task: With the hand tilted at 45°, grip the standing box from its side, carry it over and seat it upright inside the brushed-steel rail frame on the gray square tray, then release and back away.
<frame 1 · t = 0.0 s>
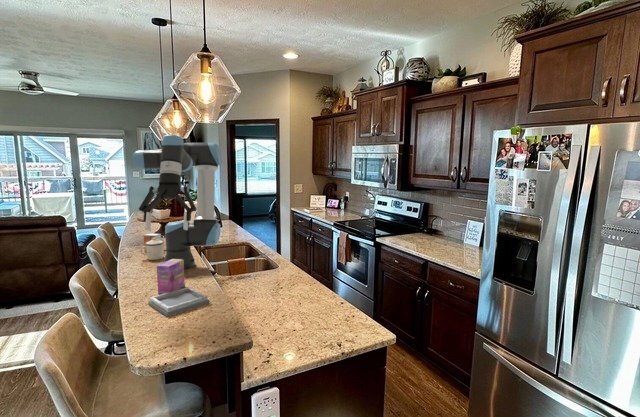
hand: (166, 230, 127), 28 cm above the countertop, tool tilted 20°, fingers open, 13 cm apart
box: (172, 290, 144), on the countertop
teacup with lid: (152, 258, 193), on the countertop
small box: (153, 251, 209), on the countertop
gray square tray: (179, 303, 128), on the countertop
steel rail frame: (178, 298, 128), on the gray square tray, point 1 cm above the countertop
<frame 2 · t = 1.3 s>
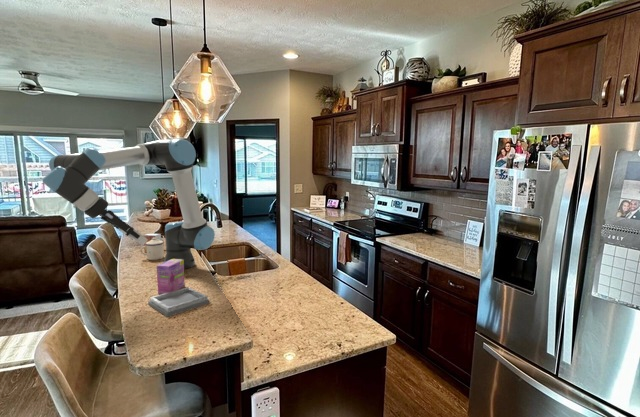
hand: (139, 239, 133), 23 cm above the countertop, tool tilted 45°, fingers open, 13 cm apart
nothing on the countertop moved.
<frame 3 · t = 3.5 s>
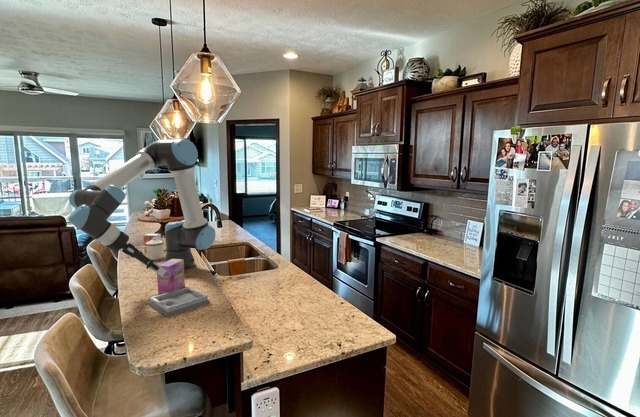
hand: (158, 269, 139), 10 cm above the countertop, tool tilted 45°, fingers open, 13 cm apart
nothing on the countertop moved.
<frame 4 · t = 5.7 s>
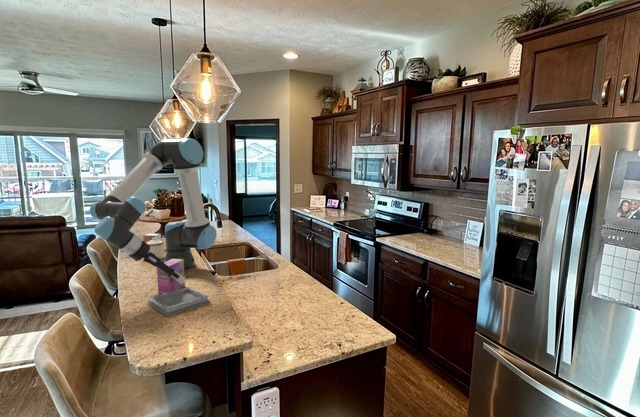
hand: (178, 278, 145), 4 cm above the countertop, tool tilted 45°, fingers closed on box, 10 cm apart
box: (172, 290, 144), on the countertop, touching gripper
everything else where it was.
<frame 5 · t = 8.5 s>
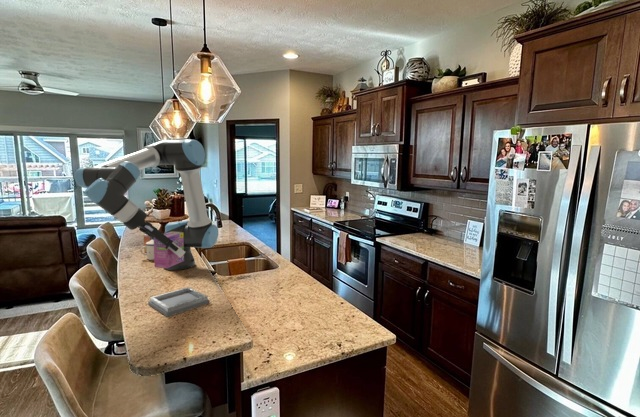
hand: (177, 252, 133), 18 cm above the countertop, tool tilted 45°, fingers closed on box, 10 cm apart
box: (170, 264, 131), point 14 cm above the countertop, touching gripper
everything else where it was.
when the fingers open (7 cm above the countertop, at t = 11.5 s): box drops 1 cm, resting on gray square tray.
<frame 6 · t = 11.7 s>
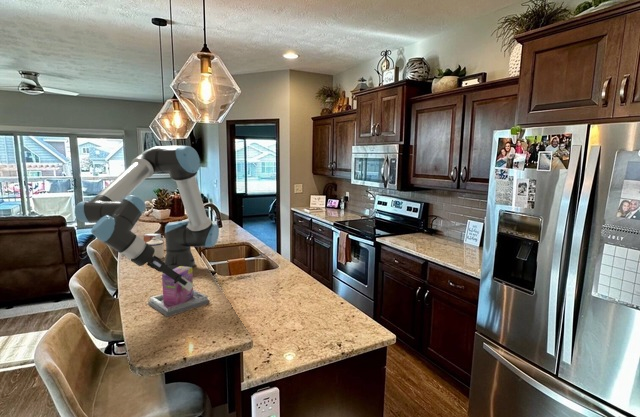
hand: (184, 283, 129), 7 cm above the countertop, tool tilted 45°, fingers open, 13 cm apart
box: (179, 301, 128), point 1 cm above the countertop, touching gray square tray
everything else where it was.
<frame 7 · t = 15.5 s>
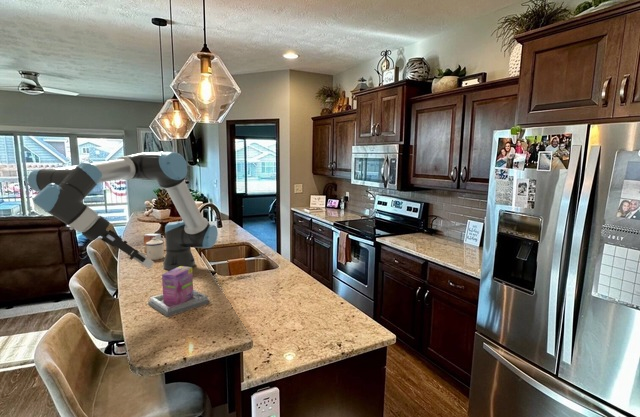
hand: (145, 261, 119), 18 cm above the countertop, tool tilted 45°, fingers open, 13 cm apart
nothing on the countertop moved.
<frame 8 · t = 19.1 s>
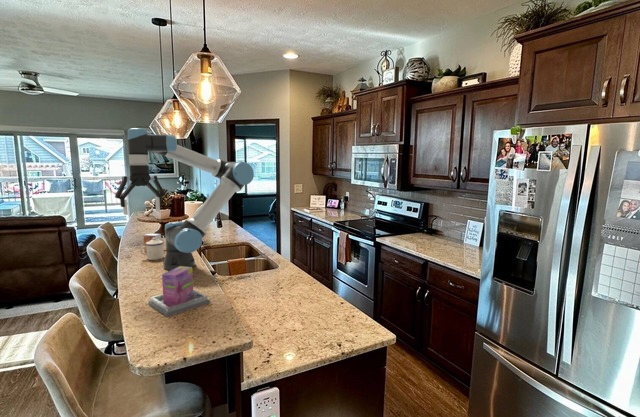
hand: (142, 212, 152), 31 cm above the countertop, tool pointing down, fingers open, 13 cm apart
nothing on the countertop moved.
at the end: box 0.3 cm off-centre on the gray square tray, point 1.0 cm above the gray square tray's base; box tilted 0°; the gripper is holding nothing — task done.
